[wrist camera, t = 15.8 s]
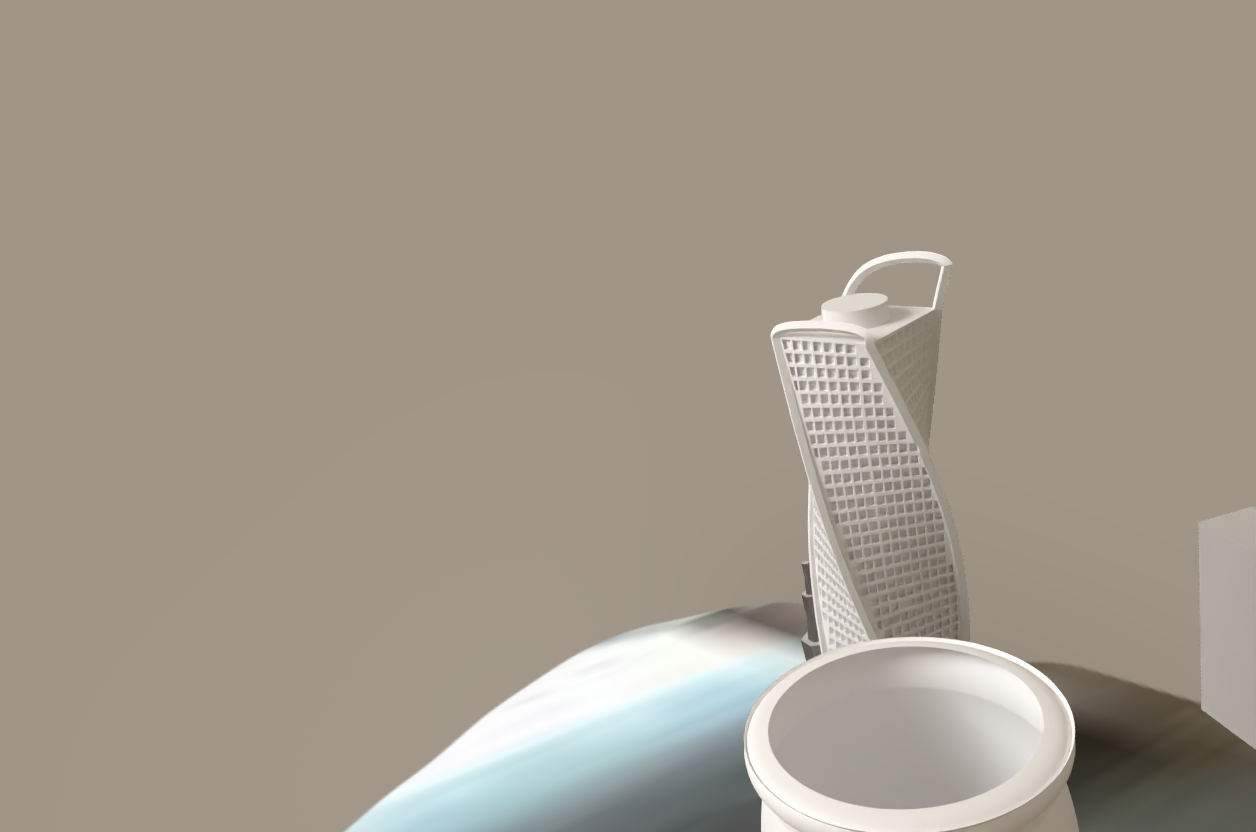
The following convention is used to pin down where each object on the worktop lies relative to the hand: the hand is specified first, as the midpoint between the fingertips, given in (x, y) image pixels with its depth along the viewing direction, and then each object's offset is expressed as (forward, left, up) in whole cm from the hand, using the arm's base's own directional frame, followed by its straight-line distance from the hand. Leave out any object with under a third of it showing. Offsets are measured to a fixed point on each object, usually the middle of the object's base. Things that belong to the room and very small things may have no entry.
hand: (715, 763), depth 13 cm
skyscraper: (+16, +32, -30) cm, 47 cm away
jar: (+10, +18, -29) cm, 35 cm away
